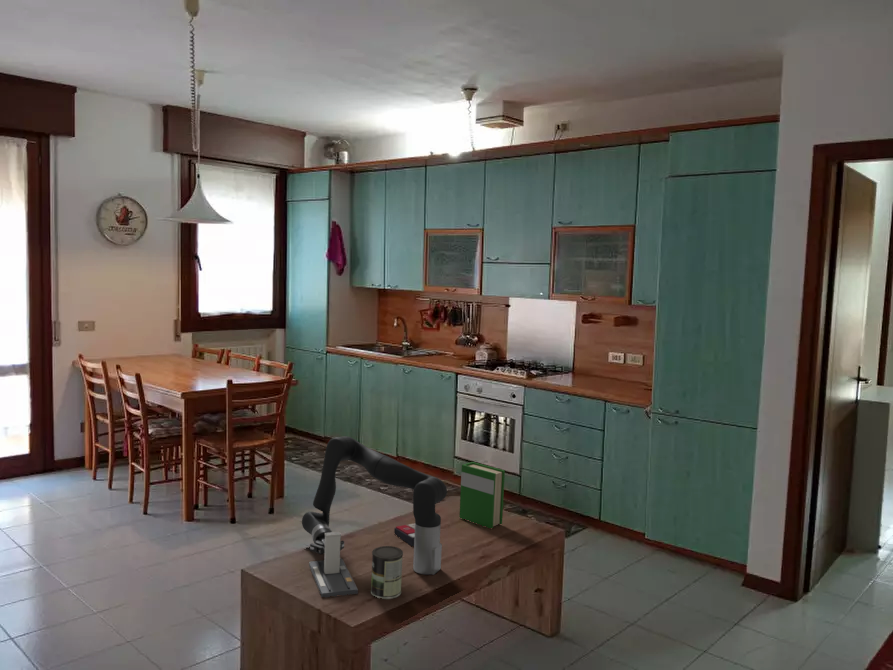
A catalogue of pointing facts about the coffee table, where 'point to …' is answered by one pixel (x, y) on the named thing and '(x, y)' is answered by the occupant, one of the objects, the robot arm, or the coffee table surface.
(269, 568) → the coffee table surface
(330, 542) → the switch tab
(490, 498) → the hardback book
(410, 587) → the coffee table surface
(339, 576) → the switch base
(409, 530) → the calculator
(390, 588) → the coffee can
